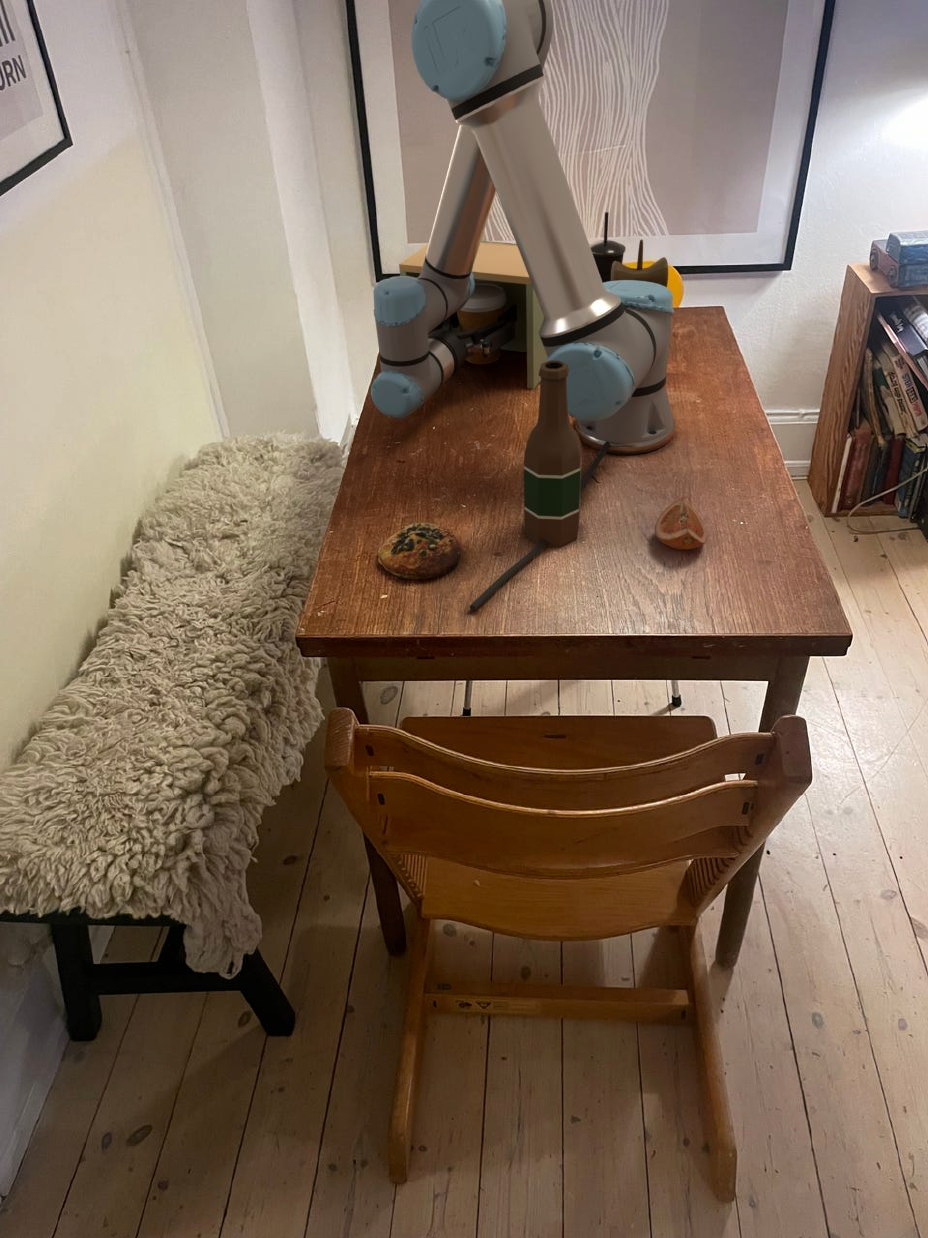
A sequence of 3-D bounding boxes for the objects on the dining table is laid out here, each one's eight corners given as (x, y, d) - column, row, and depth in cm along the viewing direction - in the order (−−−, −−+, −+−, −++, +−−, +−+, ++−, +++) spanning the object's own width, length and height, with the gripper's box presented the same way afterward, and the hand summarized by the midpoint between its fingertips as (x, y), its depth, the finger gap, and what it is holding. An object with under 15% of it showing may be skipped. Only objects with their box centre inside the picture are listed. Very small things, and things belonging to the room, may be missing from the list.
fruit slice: (708, 564, 116) (713, 531, 113) (654, 562, 117) (658, 530, 114) (703, 527, 123) (707, 496, 119) (652, 526, 123) (655, 495, 120)
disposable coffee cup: (509, 366, 161) (507, 299, 153) (455, 369, 161) (450, 301, 154) (508, 345, 168) (506, 279, 161) (457, 347, 169) (453, 282, 161)
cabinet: (533, 389, 158) (532, 277, 146) (409, 370, 167) (398, 263, 155) (563, 354, 168) (565, 247, 156) (445, 339, 177) (438, 236, 165)
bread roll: (455, 584, 115) (447, 550, 112) (372, 588, 118) (363, 556, 115) (470, 537, 124) (463, 505, 121) (393, 542, 127) (385, 511, 124)
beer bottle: (564, 554, 119) (568, 383, 104) (513, 539, 123) (509, 371, 108) (590, 525, 124) (597, 357, 109) (540, 511, 128) (540, 346, 113)
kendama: (662, 357, 165) (672, 243, 153) (609, 359, 166) (615, 245, 153) (657, 343, 170) (667, 232, 157) (606, 346, 170) (611, 235, 158)
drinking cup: (625, 312, 182) (631, 207, 170) (617, 327, 177) (623, 219, 164) (587, 310, 185) (591, 205, 172) (578, 324, 179) (581, 217, 166)
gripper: (381, 372, 154) (441, 323, 170) (495, 390, 147) (546, 336, 162) (376, 329, 149) (438, 282, 165) (493, 345, 142) (546, 294, 157)
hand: (491, 309), depth 164 cm, fingers closed on disposable coffee cup, 8 cm apart
